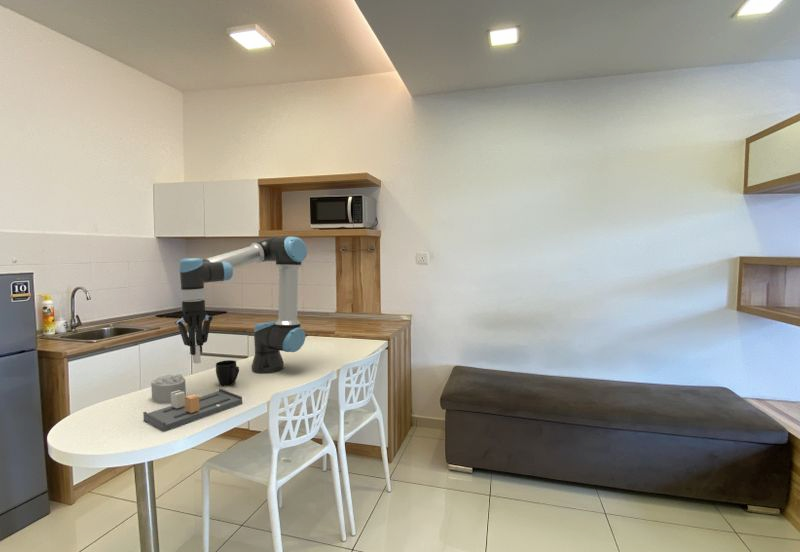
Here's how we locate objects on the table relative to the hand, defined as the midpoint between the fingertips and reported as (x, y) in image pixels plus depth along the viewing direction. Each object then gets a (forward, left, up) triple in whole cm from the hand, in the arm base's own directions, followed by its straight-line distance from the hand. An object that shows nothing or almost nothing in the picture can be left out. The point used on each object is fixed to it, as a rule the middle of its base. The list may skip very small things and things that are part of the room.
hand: (196, 362), depth 147 cm
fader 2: (+6, +8, -14) cm, 18 cm away
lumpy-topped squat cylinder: (+2, -17, -17) cm, 24 cm away
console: (+3, +4, -17) cm, 17 cm away
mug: (-20, -12, -17) cm, 29 cm away
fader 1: (+7, 0, -14) cm, 16 cm away
